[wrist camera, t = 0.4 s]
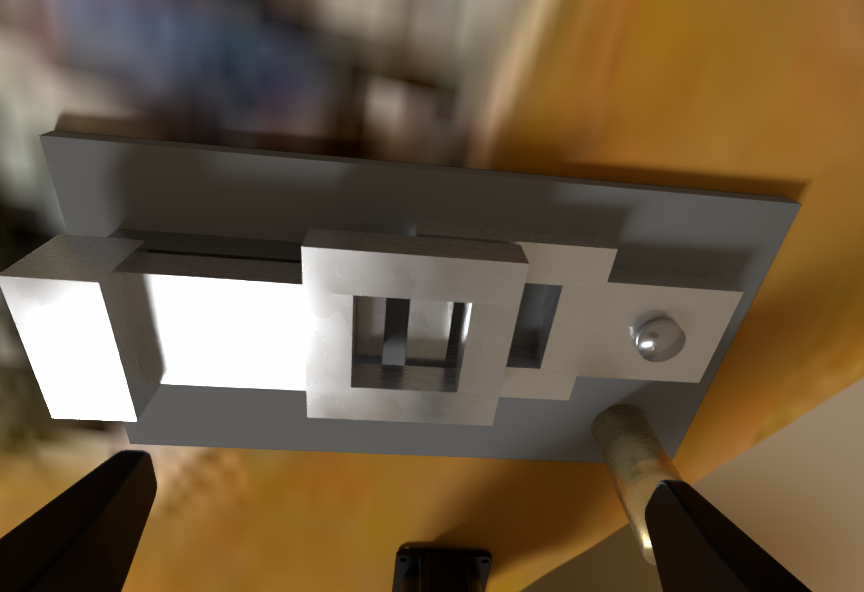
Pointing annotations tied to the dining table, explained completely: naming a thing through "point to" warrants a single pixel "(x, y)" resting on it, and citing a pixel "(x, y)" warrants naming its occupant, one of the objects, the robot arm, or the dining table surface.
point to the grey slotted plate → (561, 315)
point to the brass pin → (633, 463)
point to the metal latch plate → (261, 324)
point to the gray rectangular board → (396, 215)
